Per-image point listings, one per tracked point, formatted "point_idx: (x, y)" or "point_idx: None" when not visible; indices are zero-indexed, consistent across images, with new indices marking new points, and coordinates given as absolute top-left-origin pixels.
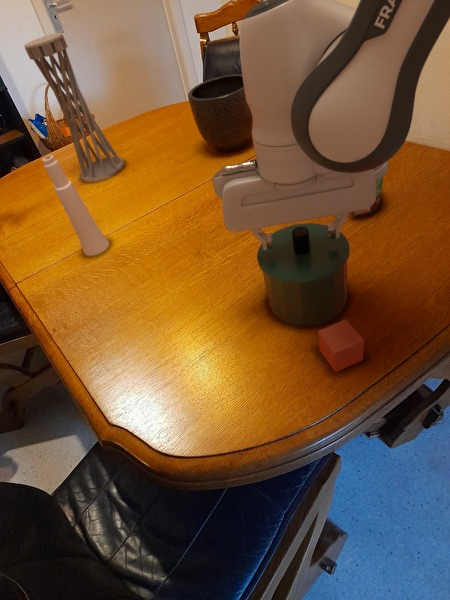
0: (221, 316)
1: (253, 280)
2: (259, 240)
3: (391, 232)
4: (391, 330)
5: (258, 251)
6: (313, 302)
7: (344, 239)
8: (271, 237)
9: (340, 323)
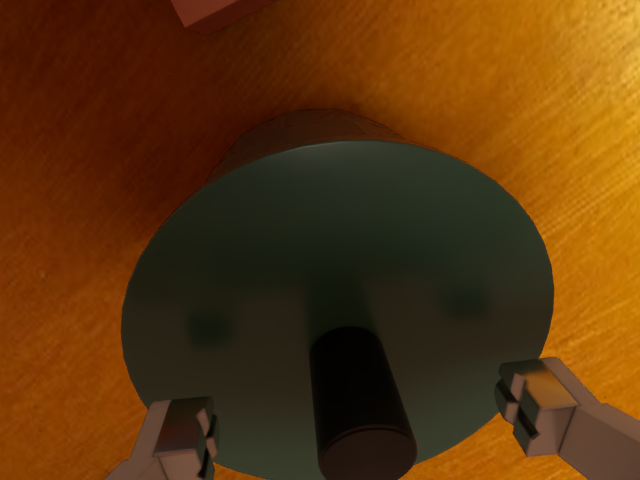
0: (571, 181)
1: None
2: (631, 416)
3: (85, 421)
4: (58, 55)
5: None
6: (309, 127)
7: (150, 395)
8: (529, 431)
9: (207, 3)
